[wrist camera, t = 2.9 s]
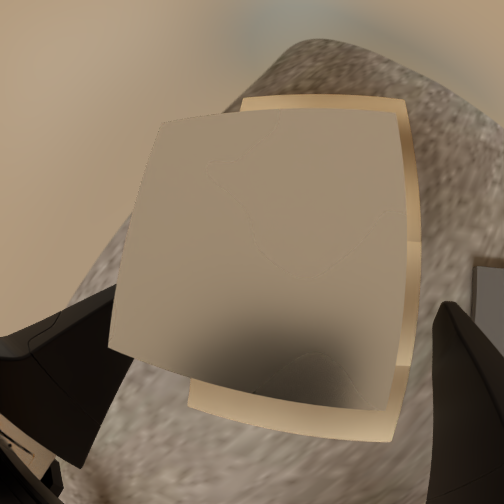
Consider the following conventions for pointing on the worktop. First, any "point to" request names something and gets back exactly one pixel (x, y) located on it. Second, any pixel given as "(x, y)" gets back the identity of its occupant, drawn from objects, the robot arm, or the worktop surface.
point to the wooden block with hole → (384, 422)
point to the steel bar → (270, 255)
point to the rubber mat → (489, 303)
